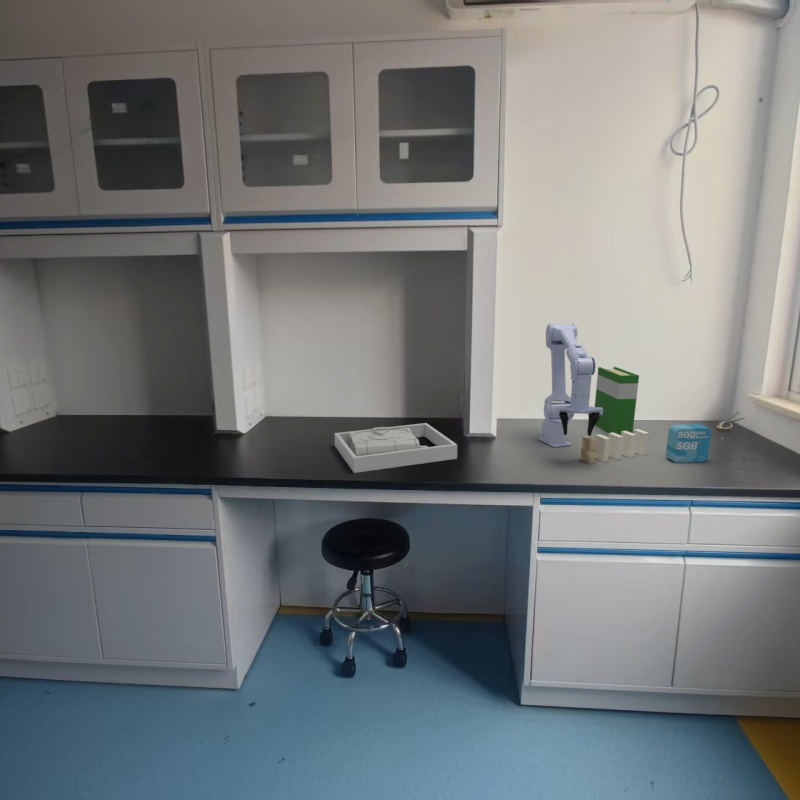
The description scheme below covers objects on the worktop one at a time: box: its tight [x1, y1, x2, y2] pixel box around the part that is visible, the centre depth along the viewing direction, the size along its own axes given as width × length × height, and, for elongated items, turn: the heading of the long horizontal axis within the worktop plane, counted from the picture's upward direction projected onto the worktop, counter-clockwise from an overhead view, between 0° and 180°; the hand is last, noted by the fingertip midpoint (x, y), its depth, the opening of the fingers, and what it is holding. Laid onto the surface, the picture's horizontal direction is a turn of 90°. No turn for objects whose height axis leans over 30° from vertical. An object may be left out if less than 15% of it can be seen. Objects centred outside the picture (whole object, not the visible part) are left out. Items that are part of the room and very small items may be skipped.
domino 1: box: [580, 435, 597, 465], centre depth 171 cm, size 5×2×8 cm, turn 20°
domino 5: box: [633, 428, 650, 456], centre depth 179 cm, size 5×2×8 cm, turn 20°
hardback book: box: [594, 366, 640, 435], centre depth 203 cm, size 18×7×24 cm, turn 5°
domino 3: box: [607, 433, 623, 461], centre depth 175 cm, size 5×2×8 cm, turn 20°
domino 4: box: [621, 431, 636, 458], centre depth 177 cm, size 5×2×8 cm, turn 20°
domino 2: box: [594, 433, 610, 463], centre depth 173 cm, size 5×2×8 cm, turn 20°
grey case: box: [348, 426, 428, 456], centre depth 182 cm, size 19×28×8 cm
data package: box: [665, 423, 712, 463], centre depth 171 cm, size 12×4×12 cm, turn 91°
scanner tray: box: [334, 422, 458, 474], centre depth 181 cm, size 27×36×5 cm
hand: (577, 434), depth 168 cm, fingers open, 7 cm apart
